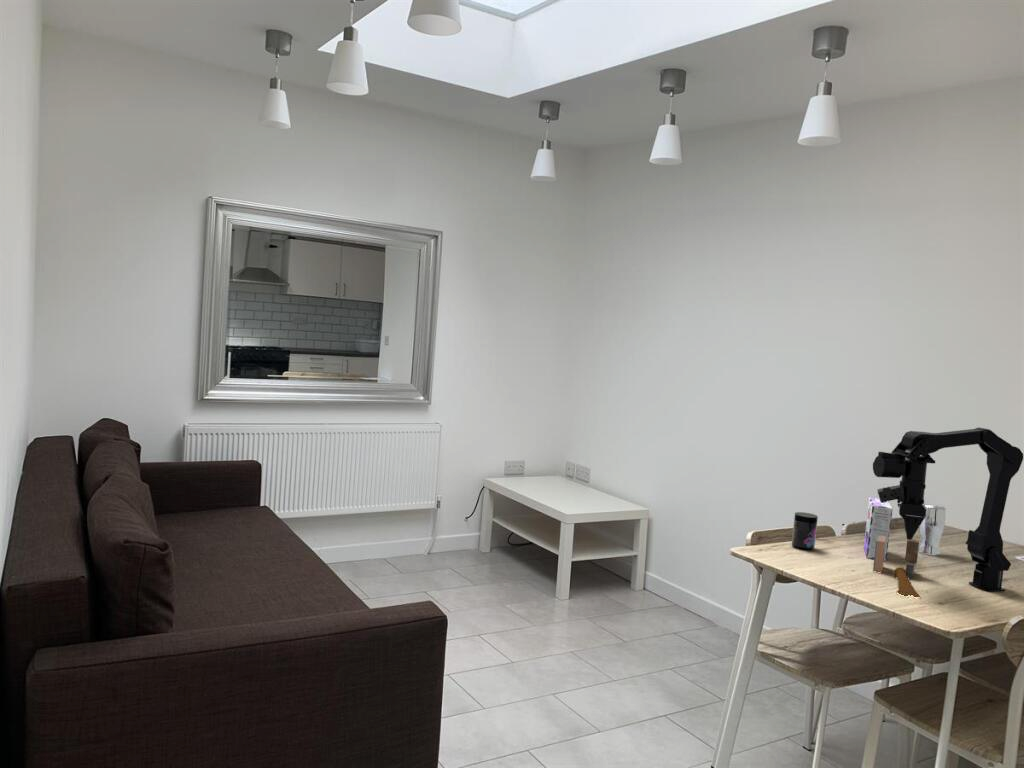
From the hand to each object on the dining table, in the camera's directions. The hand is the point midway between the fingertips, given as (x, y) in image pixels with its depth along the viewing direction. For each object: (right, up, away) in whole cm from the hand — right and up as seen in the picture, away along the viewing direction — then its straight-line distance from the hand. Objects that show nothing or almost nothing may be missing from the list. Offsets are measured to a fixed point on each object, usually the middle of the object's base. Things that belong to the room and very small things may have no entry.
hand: (908, 535), depth 218 cm
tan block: (-2, -12, +14) cm, 18 cm away
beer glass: (+25, -13, +37) cm, 46 cm away
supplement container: (-17, -10, +31) cm, 37 cm away
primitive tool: (-2, -14, -3) cm, 15 cm away
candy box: (+5, -12, +30) cm, 33 cm away
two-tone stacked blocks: (+5, -13, +10) cm, 17 cm away
